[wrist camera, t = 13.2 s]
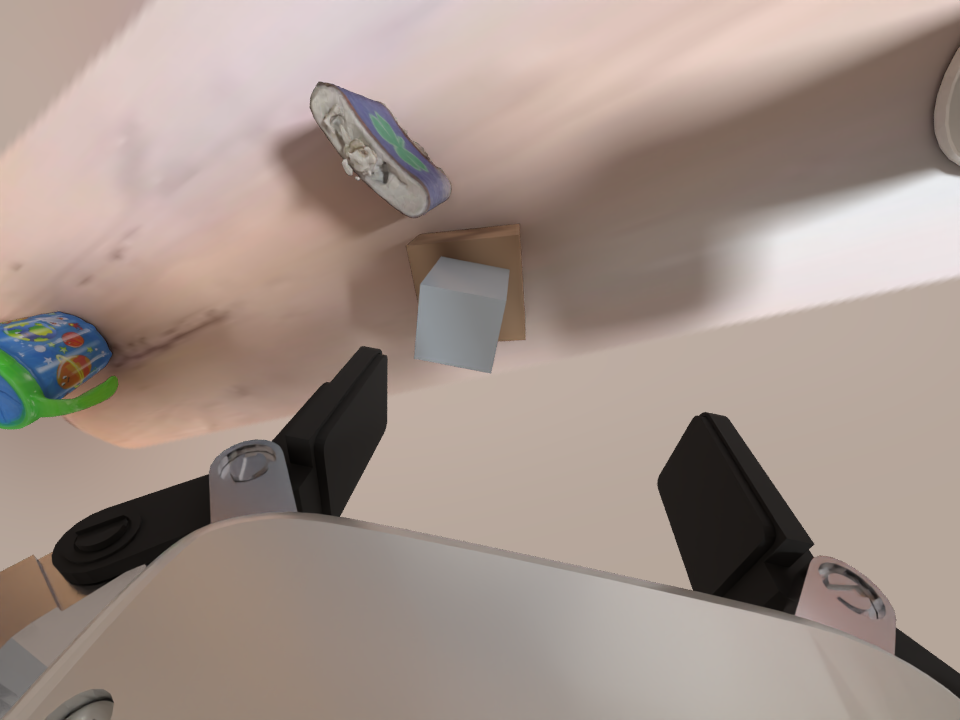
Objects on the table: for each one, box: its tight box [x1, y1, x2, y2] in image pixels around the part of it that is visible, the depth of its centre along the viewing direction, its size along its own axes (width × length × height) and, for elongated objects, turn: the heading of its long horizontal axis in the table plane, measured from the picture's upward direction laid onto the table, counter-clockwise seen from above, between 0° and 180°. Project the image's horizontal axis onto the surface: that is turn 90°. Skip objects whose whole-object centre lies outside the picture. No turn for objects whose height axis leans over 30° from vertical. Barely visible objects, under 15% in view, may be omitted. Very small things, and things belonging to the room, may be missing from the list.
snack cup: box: [0, 312, 118, 429], centre depth 39 cm, size 16×10×10 cm
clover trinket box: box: [310, 82, 451, 218], centre depth 26 cm, size 9×3×11 cm, turn 43°
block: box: [406, 224, 525, 341], centre depth 33 cm, size 9×9×5 cm
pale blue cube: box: [414, 256, 510, 373], centre depth 28 cm, size 6×6×7 cm
